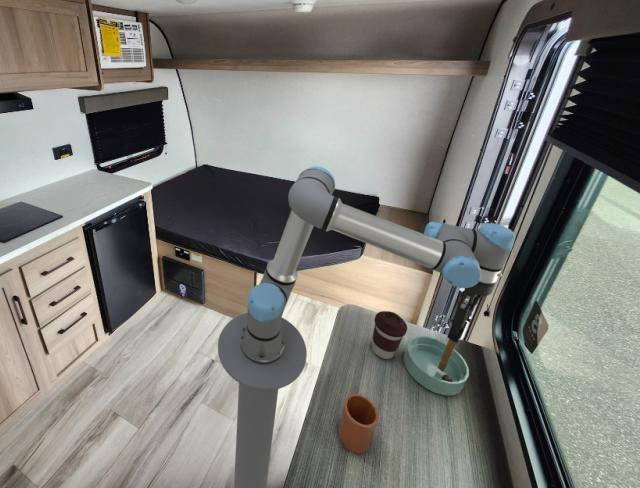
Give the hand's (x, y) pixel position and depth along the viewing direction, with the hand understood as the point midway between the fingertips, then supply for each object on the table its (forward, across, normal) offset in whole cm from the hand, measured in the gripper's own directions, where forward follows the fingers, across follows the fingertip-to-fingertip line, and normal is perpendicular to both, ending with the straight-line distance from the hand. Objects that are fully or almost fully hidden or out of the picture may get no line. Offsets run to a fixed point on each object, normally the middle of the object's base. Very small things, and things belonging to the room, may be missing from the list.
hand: (454, 337), depth 96 cm
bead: (+14, -3, -3) cm, 14 cm away
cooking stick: (+14, 0, 0) cm, 14 cm away
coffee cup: (+16, -7, +16) cm, 24 cm away
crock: (+16, -39, +7) cm, 43 cm away
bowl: (+16, -1, +2) cm, 16 cm away
